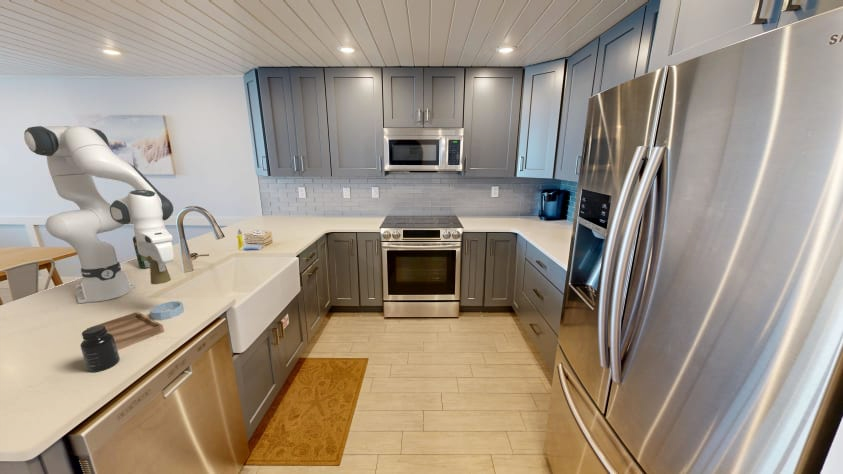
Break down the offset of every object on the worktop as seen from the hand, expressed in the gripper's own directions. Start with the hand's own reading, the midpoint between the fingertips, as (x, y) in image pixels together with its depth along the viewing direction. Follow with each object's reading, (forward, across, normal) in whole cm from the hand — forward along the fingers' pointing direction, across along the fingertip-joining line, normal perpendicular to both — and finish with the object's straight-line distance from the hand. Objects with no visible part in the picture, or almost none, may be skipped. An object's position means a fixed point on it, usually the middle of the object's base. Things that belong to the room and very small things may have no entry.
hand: (158, 269), depth 118 cm
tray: (+19, +5, -14) cm, 24 cm away
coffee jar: (+20, -73, +21) cm, 79 cm away
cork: (+5, 0, 0) cm, 5 cm away
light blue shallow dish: (+19, +1, 0) cm, 19 cm away
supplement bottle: (+19, +21, -24) cm, 37 cm away
